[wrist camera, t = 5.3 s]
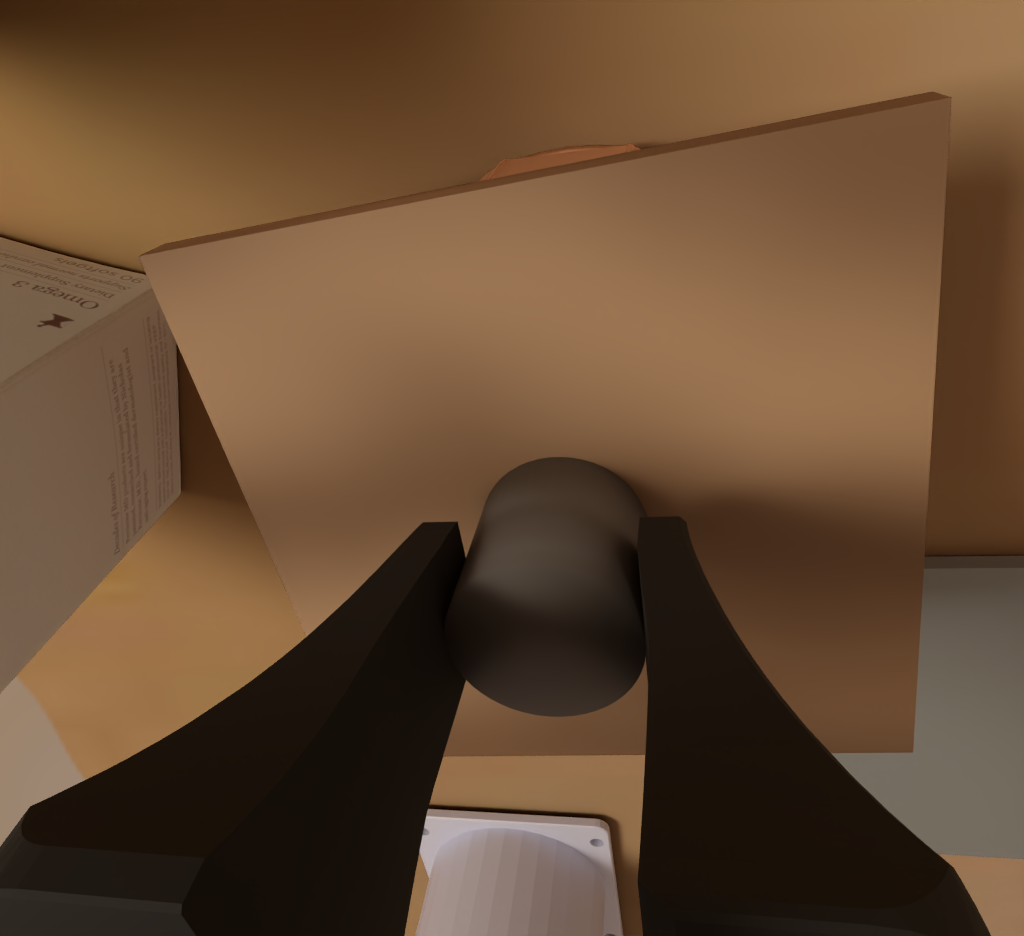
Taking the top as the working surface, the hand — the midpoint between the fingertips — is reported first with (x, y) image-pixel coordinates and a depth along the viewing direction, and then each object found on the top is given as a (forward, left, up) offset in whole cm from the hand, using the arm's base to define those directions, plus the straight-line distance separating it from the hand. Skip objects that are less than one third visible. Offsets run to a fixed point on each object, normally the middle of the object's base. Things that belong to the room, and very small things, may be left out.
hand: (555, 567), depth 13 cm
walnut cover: (0, 0, -2) cm, 2 cm away
